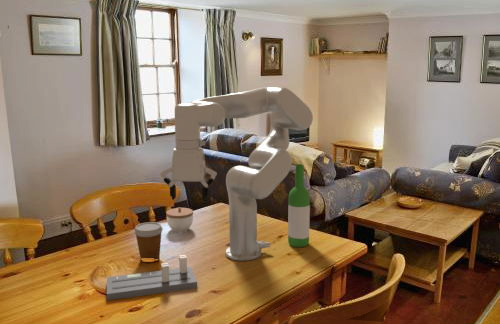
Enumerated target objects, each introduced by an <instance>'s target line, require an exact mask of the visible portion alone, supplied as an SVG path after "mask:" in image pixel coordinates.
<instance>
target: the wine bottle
mask: <svg viewBox="0 0 500 324" xmlns="http://www.w3.org/2000/svg"><path fill="white" fill-rule="evenodd" d="M304 167H305V165H304V164H295V174H294V175H295V177H294V182H295V183H294V187H293V188H292V189H290V191H289V194H288V210H287V211H288V214H287V215H288V217H287V218H288V222H287V240H288V244H289V245H290V246H292V247H295V248H303V247H306V246H308V245H309V242H310V221H311V220H310V217H311V216H310V215H311V205H310V203H311V199H310V198H311V196H310V192H309V191H308V189H307V188H306V187H305V186H304V185H305V183H304V180H305V179H304V177H305V175H304V174H305V170H304V169H305V168H304Z"/></svg>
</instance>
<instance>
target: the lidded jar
mask: <svg viewBox="0 0 500 324" xmlns="http://www.w3.org/2000/svg"><path fill="white" fill-rule="evenodd" d="M165 214H166V223H167V225H168V227H169V228H170V229H171V230H172V232H174V233H185V232H187V231H188V230H189V229H190V228H191V226H192V224H193V220H194V210H193V209H191V208H190V207H189V208H188V207H175V208H170V209H168V210H167V211H165Z"/></svg>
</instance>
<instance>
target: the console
mask: <svg viewBox="0 0 500 324" xmlns="http://www.w3.org/2000/svg"><path fill="white" fill-rule="evenodd" d="M192 289H198V281H197V278H196V276H195V272H194V270H193V268H192V266H187V273H180V267H179V268H171V269H170V268H169V282H163V281H162V271H161V270H156V271H155V270H153V271H147V272H146V271H145V272H140V273H139V272H138V273H131V274H124V275H116V276H107V277H106V300H107V301H112V300H113V301H114V300H120V299H127V298H134V297H141V296H148V295H149V296H151V295H156V294H162V293H170V292H178V291H184V290H192Z"/></svg>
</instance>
